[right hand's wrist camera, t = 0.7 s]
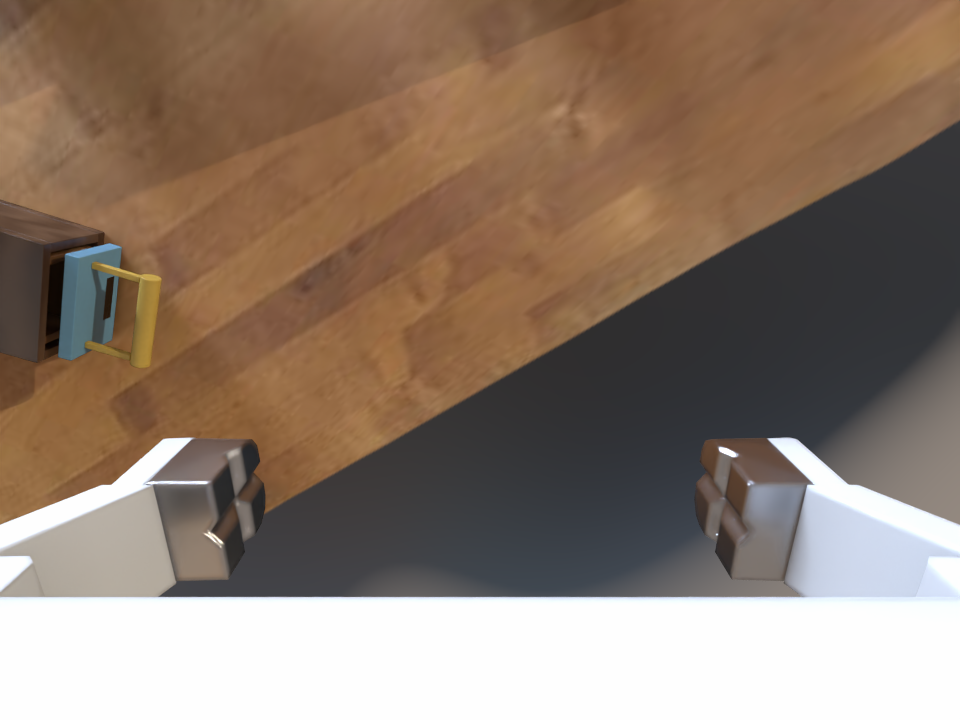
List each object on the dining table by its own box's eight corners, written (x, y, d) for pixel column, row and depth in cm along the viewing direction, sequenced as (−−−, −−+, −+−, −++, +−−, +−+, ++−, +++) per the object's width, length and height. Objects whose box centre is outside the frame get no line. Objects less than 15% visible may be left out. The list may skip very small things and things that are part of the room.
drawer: (183, 266, 54) (148, 279, 48) (170, 357, 58) (136, 379, 52) (-82, 183, 51) (-153, 187, 46) (-80, 284, 55) (-146, 299, 49)
